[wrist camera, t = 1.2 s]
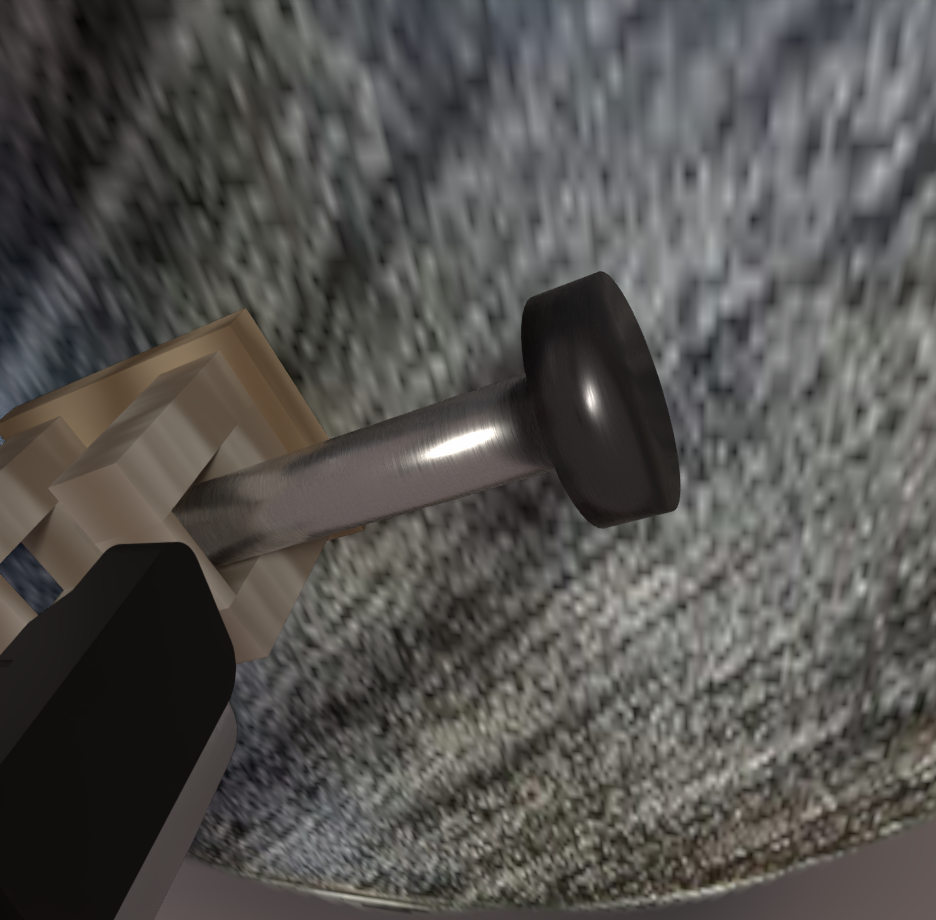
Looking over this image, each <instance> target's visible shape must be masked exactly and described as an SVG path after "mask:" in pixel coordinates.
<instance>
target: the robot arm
mask: <svg viewBox="0 0 936 920" xmlns="http://www.w3.org/2000/svg"><path fill="white" fill-rule="evenodd" d="M235 675H236V659H235V652H234V647H233V644H232V641H231V639H230V637H229V634H228V632H227V629H226V627H225V624H224V622H223V619H222V617H221V615H220V612H219V610H218V607H217V605H216V602H215V600H214V598H213V595H212V593H211V590H210V588H209V585H208V583H207V581H206V578H205V576H204V573H203V571H202V568H201V566H200V564H199V561H198V559H197V557H196V555H195V553H194V552H193V550H192V549H191V548H190V547H189V546H188V545H186V544H185V543H182V542H158V543H133V544H117V545H114V546H112V547H110V548H109V549H107V550H106V551H105V552H104V553H103V554H102V556H101V557H100V558H99V559H98V560H97V561H96V563H95V564H94V565H93V566H92V567H91V569H90V570H89V571H88V572H87V573H86V575H85V576H84V577H83V578H82V579H81V581H80V582H79V583H78V584H77V585H76V586H75V588H74V589H73V590H72V591H71V592H69V593H68V594H66V595H65V596H64V597H62V598H61V599H60V600H58V601H57V602H56V603H54V604H53V605H52V606H50V607H49V608H48V609H46V610H45V611H43V612H42V613H41V614H39V615H38V616H37V617H35V618H34V619H33V620H31V621H30V622H29V623H28V624H27V625H26V626H25V627H24V628H23V629H22V630H21V632H20V633H19V634H18V635H17V636H16V637H15V639H14V640H13V641H12V642H11V643H10V644H9V645H8V647H7V648H6V649H5V650H4V651H3V652H2V654H1V655H0V920H114V919H115V917H116V915H117V913H118V911H119V909H120V907H121V905H122V903H123V902H124V900H125V898H126V896H127V894H128V892H129V890H130V888H131V886H132V885H133V883H134V881H135V879H136V877H137V875H138V873H139V871H140V869H141V867H142V866H143V864H144V862H145V860H146V858H147V856H148V854H149V852H150V850H151V848H152V847H153V845H154V843H155V841H156V839H157V837H158V835H159V833H160V831H161V829H162V828H163V826H164V824H165V822H166V820H167V818H168V816H169V814H170V812H171V810H172V809H173V807H174V805H175V803H176V801H177V799H178V797H179V795H180V793H181V792H182V790H183V788H184V786H185V784H186V782H187V780H188V778H189V776H190V774H191V773H192V771H193V769H194V767H195V765H196V763H197V761H198V759H199V757H200V755H201V754H202V752H203V750H204V748H205V746H206V744H207V742H208V740H209V738H210V736H211V735H212V733H213V731H214V729H215V727H216V725H217V723H218V721H219V719H220V717H221V716H222V714H223V712H224V710H225V708H226V706H227V704H228V702H229V700H230V697H231V694H232V691H233V687H234V683H235Z"/></svg>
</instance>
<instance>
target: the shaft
mask: <svg viewBox="0 0 936 920" xmlns="http://www.w3.org/2000/svg"><path fill="white" fill-rule="evenodd" d="M521 341H522V354H523V362H524V368H525V373H524V374H521V375H518V376H515V377H512V378H509V379H506V380H503V381H500V382H497V383H494V384H491V385H488V386H485V387H482V388H479V389H476V390H473V391H470V392H468V393H465V394H462V395H459V396H456V397H453V398H450V399H447V400H444V401H441V402H438V403H435V404H432V405H429V406H426V407H423V408H420V409H417V410H414V411H412V412H409V413H406V414H403V415H400V416H397V417H394V418H391V419H388V420H385V421H382V422H379V423H376V424H373V425H370V426H367V427H364V428H361V429H358V430H355V431H353V432H350V433H347V434H344V435H341V436H338V437H335V438H332V439H329V440H326V441H323V442H320V443H317V444H314V445H311V446H308V447H305V448H302V449H299V450H297V451H294V452H291V453H288V454H285V455H282V456H279V457H276V458H273V459H270V460H267V461H264V462H261V463H258V464H255V465H252V466H249V467H246V468H243V469H241V470H238V471H235V472H232V473H229V474H226V475H223V476H220V477H217V478H214V479H211V480H208V481H205V482H202V483H199V484H196V485H193V486H190V487H189V488H188V489H187V491H186V492H185V493H184V495H183V496H182V497H181V499H180V500H179V501H178V502H177V504H176V505H175V506H174V508H173V509H172V510H171V511H172V513H173V514H174V515H175V517H176V518H177V519H178V520H179V522H180V523H181V524H182V526H183V527H184V528H185V530H186V531H187V532H188V533H189V535H190V536H191V537H192V539H193V540H194V541H195V542H196V544H197V545H198V546H199V548H200V549H201V550H202V552H203V553H204V554H205V555H206V557H207V558H208V559H209V561H210V562H211V563H212V565H213V566H214V567H215V568H216V567H219V566H223V565H226V564H230V563H233V562H237V561H240V560H244V559H247V558H251V557H254V556H258V555H261V554H265V553H268V552H272V551H275V550H279V549H282V548H286V547H289V546H293V545H296V544H300V543H303V542H307V541H310V540H314V539H317V538H321V537H324V536H327V535H331V534H334V533H338V532H341V531H345V530H348V529H352V528H355V527H359V526H362V525H366V524H369V523H373V522H376V521H380V520H383V519H387V518H390V517H394V516H397V515H401V514H404V513H408V512H411V511H415V510H418V509H422V508H425V507H429V506H432V505H436V504H439V503H443V502H446V501H450V500H453V499H457V498H460V497H464V496H467V495H471V494H474V493H478V492H481V491H485V490H488V489H492V488H495V487H499V486H502V485H505V484H509V483H512V482H516V481H519V480H523V479H526V478H530V477H533V476H537V475H540V474H544V473H547V472H551V471H554V470H556V472H557V474H558V476H559V479H560V481H561V483H562V484H563V486H564V488H565V490H566V492H567V494H568V495H569V497H570V499H571V500H572V502H573V503H574V505H575V506H576V508H577V509H578V510H579V512H580V513H581V514H582V515H583V516H584V517H585V519H586V520H587V521H588V522H590V523H591V524H592V525H593V526H595V527H598V528H602V529H604V528H608V527H612V526H616V525H620V524H624V523H628V522H632V521H636V520H640V519H644V518H648V517H652V516H656V515H660V514H664V513H668V512H672V511H674V510H676V508H677V507H678V504H679V500H680V471H679V462H678V455H677V449H676V443H675V438H674V433H673V429H672V424H671V420H670V416H669V412H668V408H667V404H666V401H665V397H664V394H663V390H662V387H661V384H660V380H659V377H658V374H657V371H656V368H655V365H654V362H653V359H652V357H651V354H650V351H649V349H648V346H647V343H646V341H645V338H644V336H643V334H642V331H641V329H640V327H639V324H638V322H637V320H636V318H635V316H634V313H633V311H632V309H631V307H630V306H629V304H628V302H627V300H626V298H625V296H624V295H623V293H622V291H621V290H620V288H619V287H618V285H617V284H616V283H615V282H614V280H613V279H612V278H611V277H610V276H609V275H608V274H606V273H605V272H602V271H599V272H597V273H594V274H591V275H589V276H586V277H583V278H581V279H578V280H575V281H573V282H570V283H567V284H565V285H562V286H559V287H557V288H554V289H551V290H549V291H546V292H543V293H541V294H538V295H535V296H533V297H531V298H530V299H529V300H528V301H527V303H526V305H525V307H524V311H523V315H522V324H521Z"/></svg>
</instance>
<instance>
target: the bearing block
mask: <svg viewBox="0 0 936 920" xmlns="http://www.w3.org/2000/svg"><path fill="white" fill-rule="evenodd" d="M0 435H1V436H2V437H3V439H4V440H5V442H4V443H3V444H2V445H1V446H0V563H1V562H2V561H3V560H4V559H5V558H6V557H7V556H8V555H9V554H10V552H11V551H12V550H13V549H14V548H15V547H16V546H17V545H18V544H19V543H20V542H22V544H23V545H24V546H25V547H26V548H27V549H28V550H29V551H30V553H31V554H32V555H33V556H34V557H35V558H36V559H37V560H38V562H39V563H40V564H41V565H42V566H43V567H44V568H45V569H46V571H47V572H48V573H49V574H50V575H51V576H52V577H53V578H54V580H55V581H56V582H57V583H58V584H59V585H60V586H61V587H62V589H63V590H64V591H63V592H62V593H61V595H60V596H59V597H58V598H57V599H56V601H55V602H54V603H56V602H57V601H58V600H60V599H61V598H62V597H64V596H65V595H66V594H68V593H69V592H71V591H72V590H73V589H74V588H75V586H76V585H77V584H78V583H79V582H80V581H81V579H82V578H83V577H84V576H85V575H86V573H87V572H88V571H89V570H90V569H91V567H92V566H93V565H94V564H95V563H96V561H97V560H98V559H99V558H100V557H101V556H102V554H103V553H104V552H105V551H106V550H107V549H109V548H110V547H112V546H114V545H117V544H133V543H158V542H182V543H185V544H186V545H188V546H189V547H190V548H191V549H192V550H193V552H194V553H195V555H196V557H197V559H198V561H199V564H200V566H201V568H202V571H203V573H204V576H205V578H206V581H207V583H208V585H209V588H210V590H211V593H212V595H213V598H214V600H215V602H216V605H217V607H218V610H219V612H220V615H221V617H222V619H223V622H224V624H225V627H226V629H227V632H228V634H229V637H230V639H231V641H232V644H233V647H234V652H235V659H236V664H238V663H242V662H247V661H251V660H256V659H260V658H264V657H268V655H269V653H270V651H271V649H272V647H273V645H274V643H275V641H276V639H277V637H278V635H279V633H280V631H281V629H282V627H283V625H284V623H285V621H286V620H287V618H288V616H289V614H290V612H291V610H292V608H293V606H294V604H295V602H296V600H297V598H298V596H299V594H300V592H301V590H302V588H303V586H304V584H305V582H306V580H307V578H308V576H309V574H310V572H311V570H312V568H313V566H314V564H315V562H316V561H317V559H318V557H319V555H320V553H321V551H322V549H323V547H324V545H325V543H326V541H328V540H331V539H335V538H338V537H342V536H345V535H349V534H352V533H356V532H360V531H363V530H364V528H365V526H366V525H362V526H359V527H355V528H352V529H348V530H345V531H341V532H338V533H334V534H331V535H327V536H324V537H321V538H317V539H314V540H310V541H307V542H303V543H300V544H296V545H293V546H289V547H286V548H282V549H279V550H275V551H272V552H268V553H265V554H261V555H258V556H254V557H251V558H247V559H244V560H240V561H237V562H233V563H230V564H226V565H223V566H219V567H216V568H215V567H214V566H213V565H212V563H211V562H210V561H209V559H208V558H207V557H206V555H205V554H204V553H203V552H202V550H201V549H200V548H199V546H198V545H197V544H196V542H195V541H194V540H193V539H192V537H191V536H190V535H189V533H188V532H187V531H186V530H185V528H184V527H183V526H182V524H181V523H180V522H179V520H178V519H177V518H176V517H175V515H174V514H173V513H172V511H171V510H172V509H173V508H174V506H175V505H176V504H177V502H178V501H179V500H180V499H181V497H182V496H183V495H184V493H185V492H186V491H187V489H188V488H189V487H190V486H193V485H196V484H199V483H202V482H205V481H208V480H211V479H214V478H217V477H220V476H223V475H226V474H229V473H232V472H235V471H238V470H241V469H243V468H246V467H249V466H252V465H255V464H258V463H261V462H264V461H267V460H270V459H273V458H276V457H279V456H282V455H285V454H288V453H291V452H294V451H297V450H299V449H302V448H305V447H308V446H311V445H314V444H317V443H320V442H323V441H326V440H329V438H328V436H327V435H326V433H325V431H324V430H323V428H322V427H321V425H320V424H319V422H318V420H317V419H316V417H315V416H314V414H313V413H312V411H311V409H310V408H309V406H308V405H307V403H306V402H305V400H304V398H303V397H302V395H301V394H300V392H299V391H298V389H297V387H296V386H295V384H294V383H293V381H292V380H291V378H290V376H289V375H288V373H287V372H286V370H285V369H284V367H283V365H282V364H281V362H280V361H279V359H278V358H277V356H276V354H275V353H274V351H273V350H272V348H271V347H270V345H269V343H268V342H267V340H266V339H265V337H264V336H263V334H262V332H261V331H260V329H259V328H258V326H257V325H256V323H255V321H254V320H253V318H252V317H251V315H250V314H249V312H248V310H247V309H246V308H245V309H242V310H240V311H238V312H235V313H233V314H231V315H228V316H226V317H224V318H221V319H219V320H217V321H214V322H212V323H210V324H208V325H205V326H203V327H201V328H198V329H196V330H194V331H191V332H189V333H187V334H184V335H182V336H180V337H177V338H175V339H173V340H170V341H168V342H166V343H163V344H161V345H159V346H157V347H154V348H152V349H150V350H147V351H145V352H143V353H140V354H138V355H136V356H133V357H131V358H129V359H126V360H124V361H122V362H119V363H117V364H115V365H112V366H110V367H108V368H106V369H103V370H101V371H99V372H96V373H94V374H92V375H89V376H87V377H85V378H82V379H80V380H78V381H75V382H73V383H71V384H68V385H66V386H64V387H62V388H59V389H57V390H55V391H52V392H50V393H48V394H45V395H43V396H41V397H38V398H36V399H34V400H31V401H29V402H27V403H24V404H22V405H20V406H17V407H15V408H14V409H12V410H11V411H10V412H9V413H8V414H6V415H5V416H4V417H3V418H2V419H1V420H0ZM54 603H53V604H54ZM53 604H52V605H53ZM52 605H51V606H52ZM37 616H38V614H37V613H36V612H35V611H34V610H33V609H32V608H31V607H30V606H29V605H28V604H27V603H26V601H25V600H24V599H23V598H22V597H21V596H20V595H19V594H18V593H17V592H16V591H15V590H14V588H13V587H12V586H11V585H10V584H9V583H8V582H7V581H6V580H5V579H4V578H3V577H2V575H1V574H0V655H1V654H2V652H3V651H4V650H5V649H6V648H7V647H8V645H9V644H10V643H11V642H12V641H13V640H14V639H15V637H16V636H17V635H18V634H19V633H20V632H21V630H22V629H23V628H24V627H25V626H26V625H27V624H28V623H29V622H30V621H31V620H33V619H34V618H35V617H37Z"/></svg>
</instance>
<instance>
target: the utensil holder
mask: <svg viewBox="0 0 936 920" xmlns="http://www.w3.org/2000/svg"><path fill="white" fill-rule="evenodd" d="M236 741H237V724H236V719H235V715H234V712H233V709H232V707H231V705H230V703H229V702H228V704H227V706H226V708H225V710H224V712H223V714H222V716H221V717H220V719H219V721H218V723H217V725H216V727H215V729H214V731H213V733H212V735H211V736H210V738H209V740H208V742H207V744H206V746H205V748H204V750H203V752H202V754H201V755H200V757H199V759H198V761H197V763H196V765H195V767H194V769H193V771H192V773H191V774H190V776H189V778H188V780H187V782H186V784H185V786H184V788H183V790H182V792H181V793H180V795H179V797H178V799H177V801H176V803H175V805H174V807H173V809H172V810H171V812H170V814H169V816H168V818H167V820H166V822H165V824H164V826H163V828H162V829H161V831H160V833H159V835H158V837H157V839H156V841H155V843H154V845H153V847H152V848H151V850H150V852H149V854H148V856H147V858H146V860H145V862H144V864H143V866H142V867H141V869H140V871H139V873H138V875H137V877H136V879H135V881H134V883H133V885H132V886H131V888H130V890H129V892H128V894H127V896H126V898H125V900H124V902H123V903H122V905H121V907H120V909H119V911H118V913H117V915H116V917H115V919H114V920H154V918H155V916H156V914H157V912H158V910H159V908H160V906H161V904H162V902H163V900H164V897H165V896H166V894H167V892H168V890H169V888H170V886H171V884H172V882H173V880H174V878H175V876H176V874H177V872H178V870H179V868H180V866H181V864H182V862H183V860H184V858H185V856H186V854H187V852H188V850H189V848H190V846H191V844H192V842H193V840H194V838H195V835H196V833H197V831H198V829H199V827H200V824H201V822H202V820H203V818H204V816H205V813H206V811H207V809H208V807H209V805H210V803H211V800H212V798H213V796H214V794H215V792H216V790H217V787H218V785H219V783H220V781H221V779H222V777H223V775H224V772H225V770H226V768H227V766H228V764H229V761H230V759H231V756H232V754H233V751H234V749H235V745H236Z"/></svg>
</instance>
